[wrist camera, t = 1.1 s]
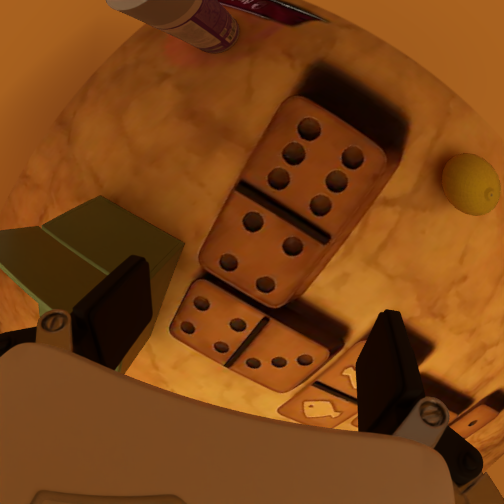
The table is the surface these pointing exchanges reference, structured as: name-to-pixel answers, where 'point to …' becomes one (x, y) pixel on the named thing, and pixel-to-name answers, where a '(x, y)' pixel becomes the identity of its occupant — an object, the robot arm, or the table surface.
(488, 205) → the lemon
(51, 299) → the flap
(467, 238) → the table surface
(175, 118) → the table surface
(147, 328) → the carton
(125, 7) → the container
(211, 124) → the table surface
